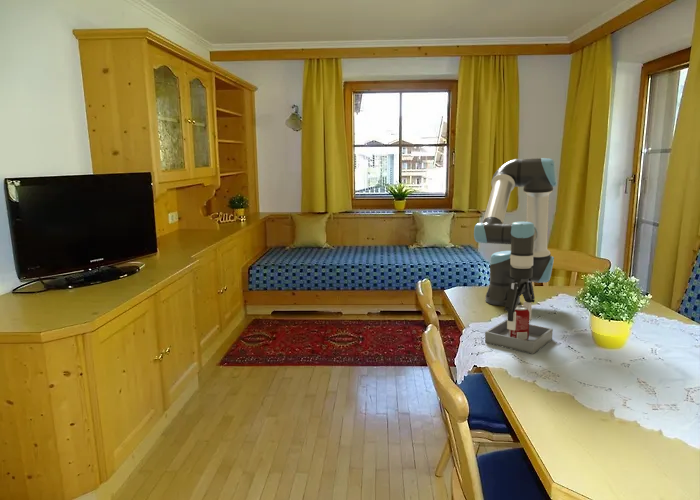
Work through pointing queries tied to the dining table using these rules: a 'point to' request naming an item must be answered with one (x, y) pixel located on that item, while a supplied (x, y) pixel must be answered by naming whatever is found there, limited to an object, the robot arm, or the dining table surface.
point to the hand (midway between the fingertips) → (519, 324)
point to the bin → (533, 344)
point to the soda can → (521, 323)
